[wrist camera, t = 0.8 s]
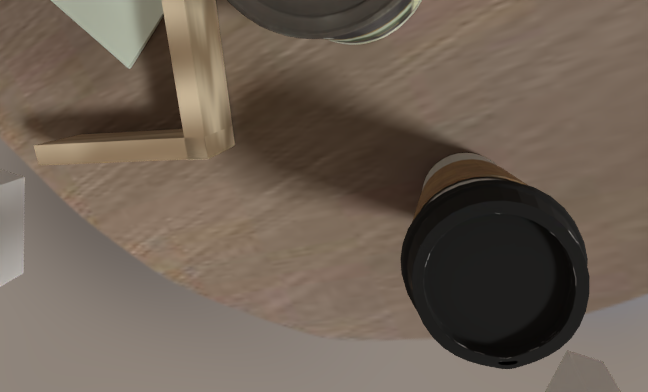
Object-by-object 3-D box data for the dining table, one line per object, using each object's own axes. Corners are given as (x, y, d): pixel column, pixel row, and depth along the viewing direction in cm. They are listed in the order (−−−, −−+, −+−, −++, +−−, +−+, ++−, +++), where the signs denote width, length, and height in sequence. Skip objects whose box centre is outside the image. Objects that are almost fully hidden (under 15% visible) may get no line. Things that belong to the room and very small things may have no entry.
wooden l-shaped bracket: (40, -41, 34) (-19, -56, 30) (206, -65, 32) (170, -86, 27) (84, 152, 39) (39, 166, 34) (235, 145, 36) (208, 159, 31)
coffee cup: (415, 251, 36) (415, 379, 22) (396, 146, 34) (383, 211, 19) (530, 237, 34) (613, 368, 20) (518, 124, 32) (601, 180, 17)
